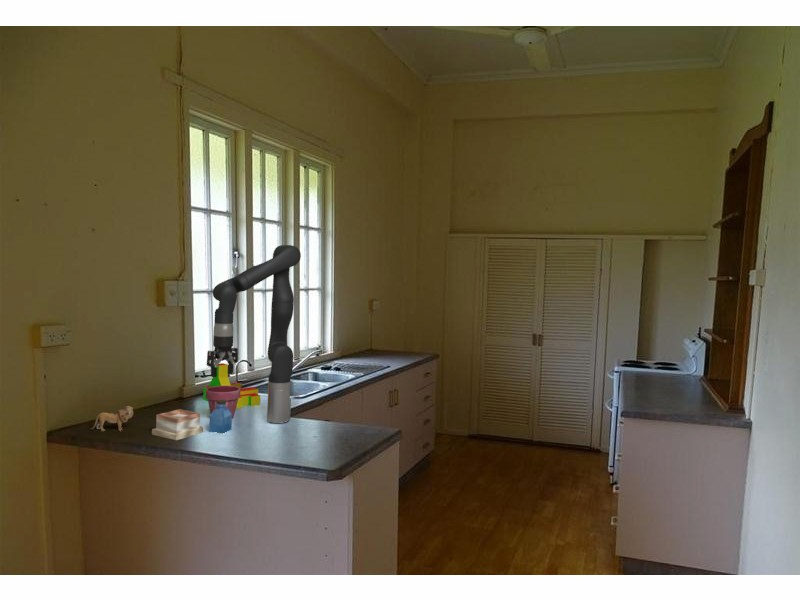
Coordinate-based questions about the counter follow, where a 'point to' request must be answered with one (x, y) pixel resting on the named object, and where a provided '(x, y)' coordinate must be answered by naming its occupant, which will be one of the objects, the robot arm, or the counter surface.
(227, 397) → the plant pot
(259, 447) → the counter surface
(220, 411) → the perfume bottle
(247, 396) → the building blocks toy
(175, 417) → the pedestal
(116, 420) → the lion figurine
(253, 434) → the counter surface
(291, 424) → the counter surface
